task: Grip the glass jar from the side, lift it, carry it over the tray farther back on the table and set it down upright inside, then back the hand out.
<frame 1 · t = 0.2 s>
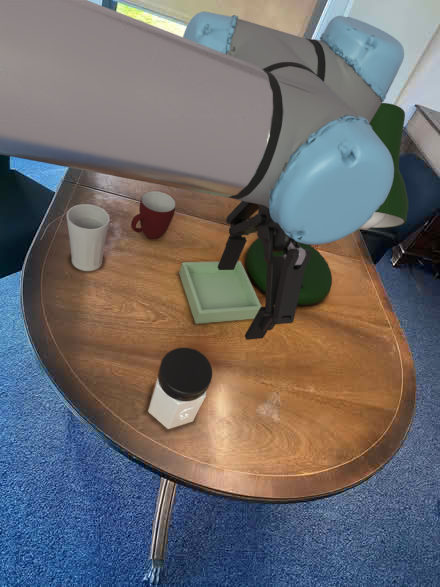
hand: (238, 300, 59), 20 cm above the table, tool pointing down, fingers open, 13 cm apart
mug: (148, 237, 95), on the table
cup: (87, 261, 84), on the table
cake: (296, 216, 119), on the table
planter: (242, 180, 125), on the table
jar: (172, 405, 67), on the table
desk lamp: (288, 285, 97), on the table
tray: (217, 295, 87), on the table
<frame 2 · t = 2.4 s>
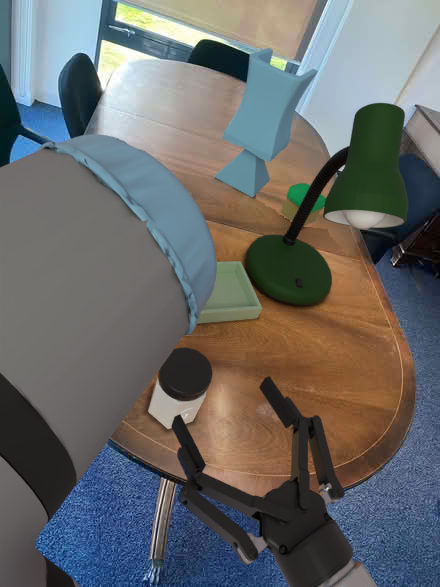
hand: (222, 399, 50), 18 cm above the table, tool horizontal, fingers open, 13 cm apart
nothing on the table moved.
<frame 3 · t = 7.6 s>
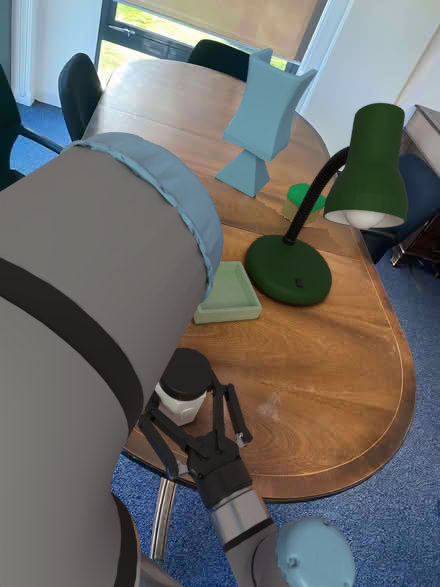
hand: (169, 363, 65), 6 cm above the table, tool horizontal, fingers closed on jar, 9 cm apart
jar: (172, 405, 67), on the table, touching gripper
everything else where it was.
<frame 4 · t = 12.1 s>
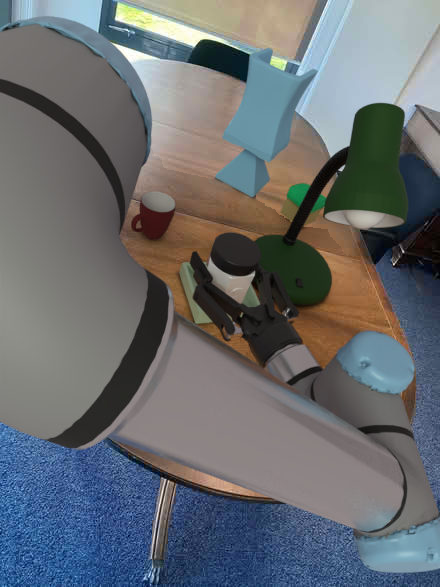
hand: (217, 253, 69), 18 cm above the table, tool horizontal, fingers closed on jar, 9 cm apart
jar: (218, 296, 71), point 11 cm above the table, touching gripper
everything else where it was.
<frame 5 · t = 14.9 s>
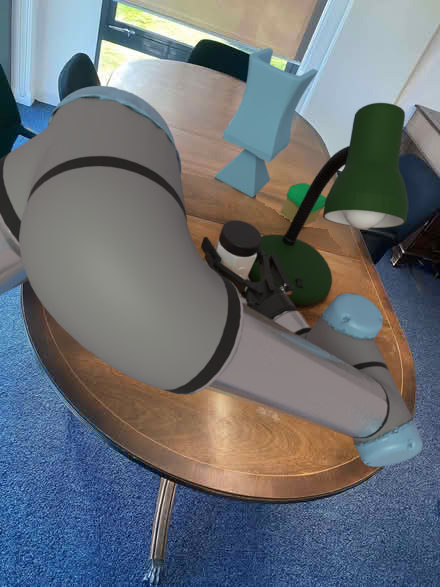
hand: (223, 239, 81), 13 cm above the table, tool horizontal, fingers closed on jar, 9 cm apart
jar: (225, 276, 83), point 6 cm above the table, touching gripper
everything else where it was.
when the fingers open (7 cm above the table, at t = 17.1 s): jar stays where it is, resting on tray.
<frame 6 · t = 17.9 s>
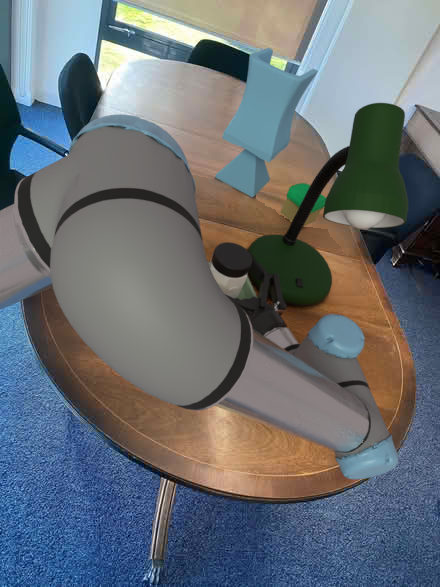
hand: (220, 259, 83), 8 cm above the table, tool horizontal, fingers open, 13 cm apart
jar: (218, 294, 87), resting on tray
everything else where it was.
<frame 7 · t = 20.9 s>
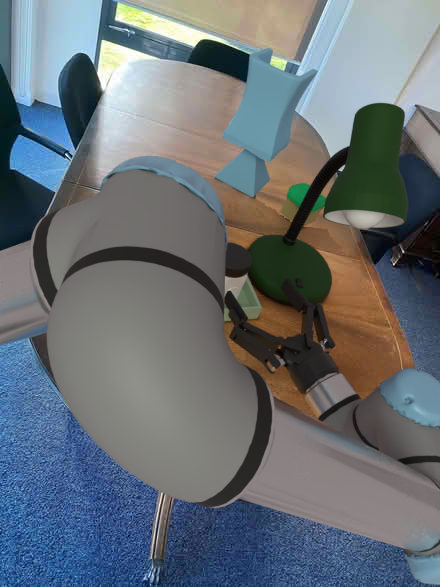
hand: (256, 288, 74), 13 cm above the table, tool horizontal, fingers open, 13 cm apart
nothing on the table moved.
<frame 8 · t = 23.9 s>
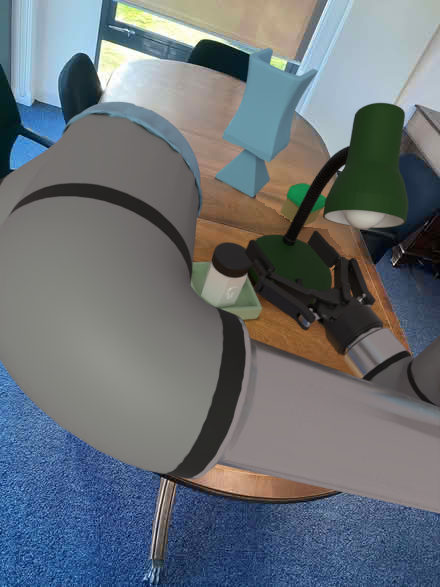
hand: (282, 241, 65), 25 cm above the table, tool horizontal, fingers open, 13 cm apart
nothing on the table moved.
at the end: jar inside the target area in the tray (0.0 cm from its centre), point 0.4 cm above the tray's base; jar tilted 0°; the gripper is holding nothing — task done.
